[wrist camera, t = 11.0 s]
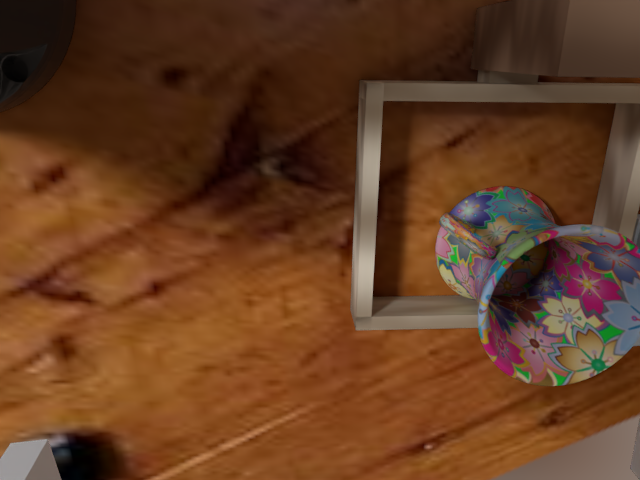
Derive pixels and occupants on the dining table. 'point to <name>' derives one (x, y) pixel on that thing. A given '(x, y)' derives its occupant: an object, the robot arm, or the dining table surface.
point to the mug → (541, 286)
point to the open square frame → (510, 86)
